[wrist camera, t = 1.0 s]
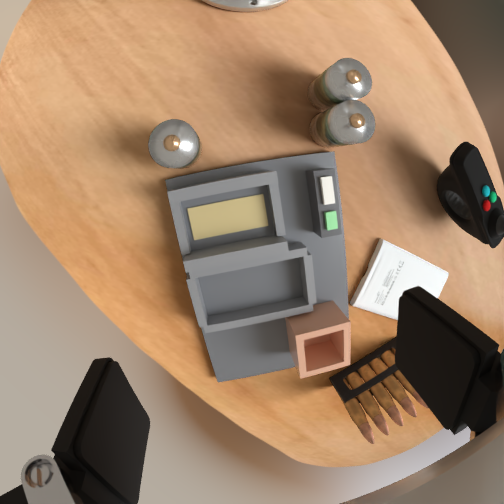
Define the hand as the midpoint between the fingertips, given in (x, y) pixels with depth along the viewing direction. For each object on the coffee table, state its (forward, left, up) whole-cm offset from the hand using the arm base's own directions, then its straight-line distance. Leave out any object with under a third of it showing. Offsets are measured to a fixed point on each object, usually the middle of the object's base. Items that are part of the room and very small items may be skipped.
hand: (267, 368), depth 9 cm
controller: (0, +26, -21) cm, 33 cm away
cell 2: (-12, +11, -21) cm, 27 cm away
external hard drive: (+11, +19, -22) cm, 31 cm away
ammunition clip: (+21, +14, -21) cm, 33 cm away
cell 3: (-8, +11, -21) cm, 25 cm away
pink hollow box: (+12, +6, -20) cm, 24 cm away
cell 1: (-8, -3, -21) cm, 23 cm away
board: (+6, +3, -21) cm, 22 cm away
